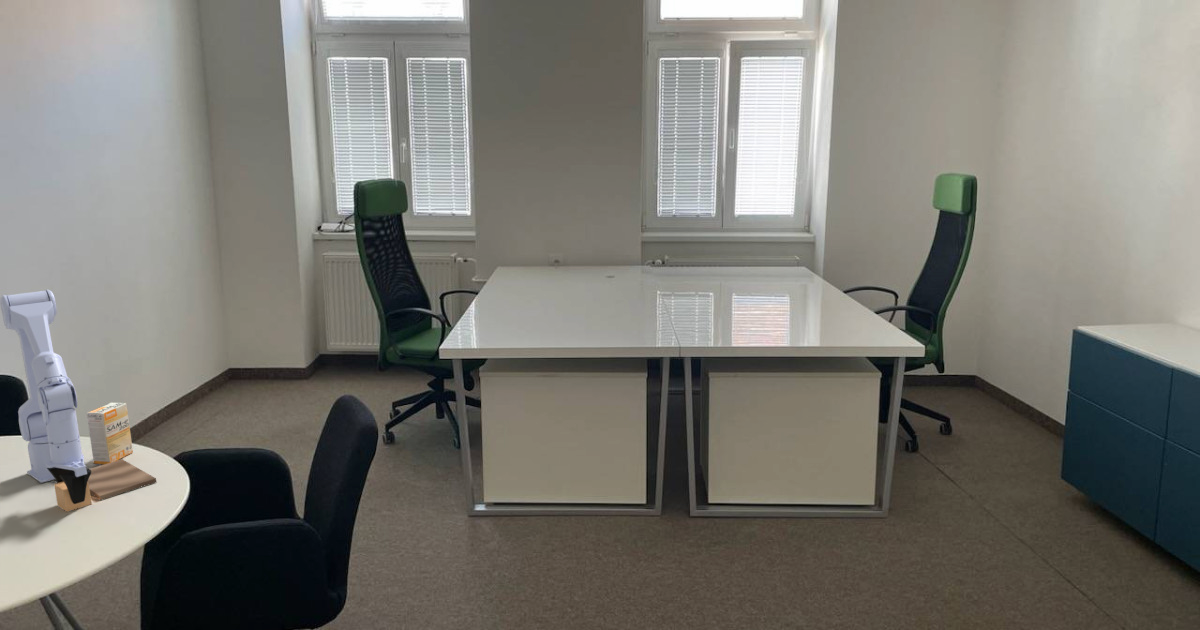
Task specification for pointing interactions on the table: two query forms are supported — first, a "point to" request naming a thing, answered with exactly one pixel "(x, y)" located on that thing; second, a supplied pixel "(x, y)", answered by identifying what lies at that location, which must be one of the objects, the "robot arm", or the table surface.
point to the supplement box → (109, 433)
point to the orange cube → (64, 497)
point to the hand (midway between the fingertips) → (73, 498)
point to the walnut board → (116, 479)
